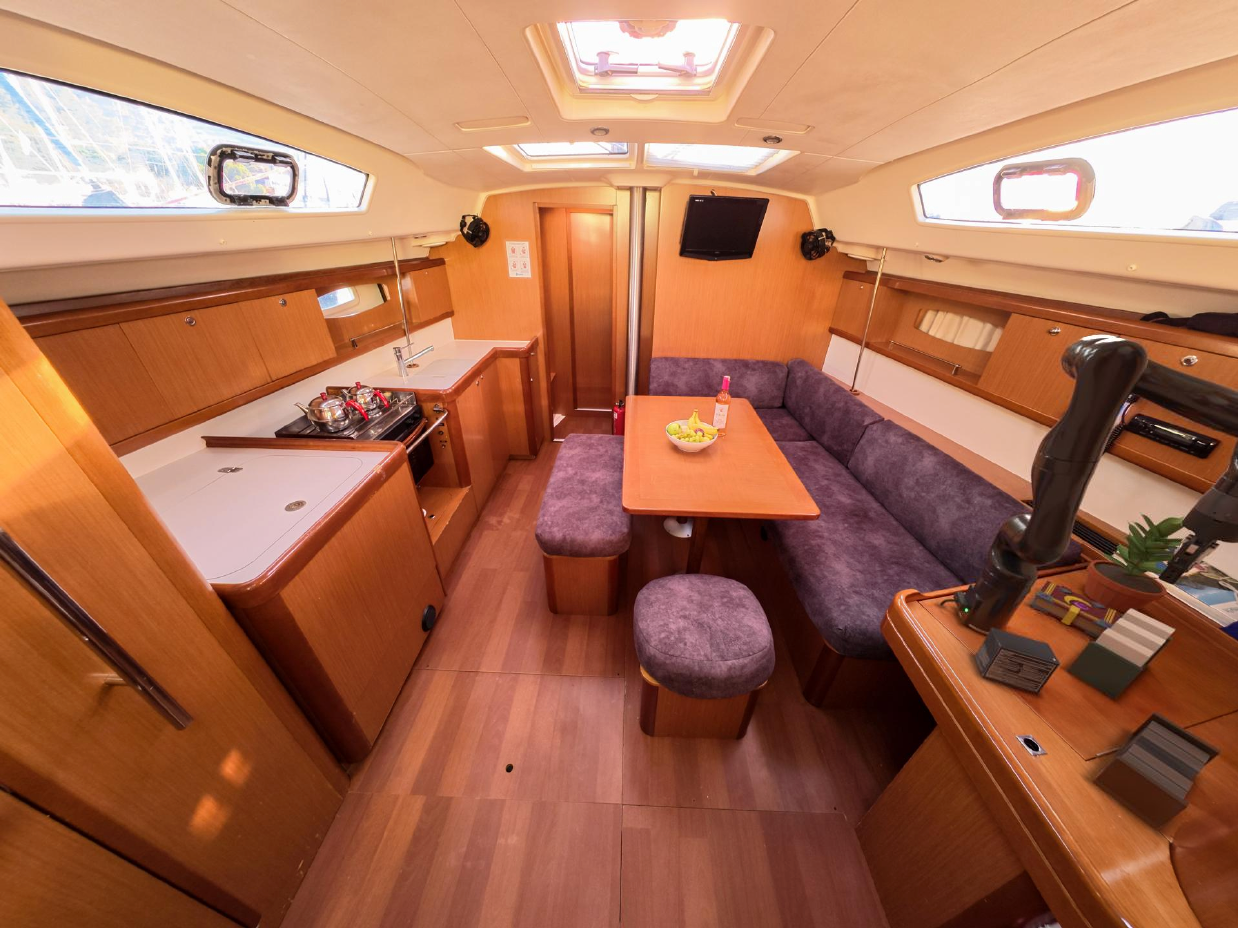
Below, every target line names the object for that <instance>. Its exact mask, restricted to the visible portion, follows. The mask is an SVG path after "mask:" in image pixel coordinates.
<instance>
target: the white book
mask: <svg viewBox="0 0 1238 928" xmlns="http://www.w3.org/2000/svg"><path fill="white" fill-rule="evenodd" d="M1111 630H1113V631H1115V632H1117V633H1119V634H1121V635H1123V636H1125V637H1126V638H1128V639H1130V640H1132V641H1134V642H1136V643H1138V644H1140V645H1142V646H1144V647H1146V648H1148V649H1149V650H1151V651H1153V652H1154V653H1155V652H1156V651H1157V650H1158V649H1159V648H1160V647H1161V646H1162V644H1163V643H1164V642H1165V641H1166V640H1164V639H1162V638H1160V637H1158V636H1156V635H1154V634H1152V633H1150V632H1148V631H1146V630H1144V629H1142V628H1140V627H1138V626H1136V625H1134V624H1132V623H1130V622H1128V621H1126V620H1124V619H1122V618H1120V619H1119V620H1118V621H1117V622H1116V623H1115V624H1114V625H1113V626H1112V627H1111ZM1154 653H1153V654H1154ZM1153 654H1152V655H1153ZM1152 655H1151V656H1152ZM1151 656H1150V657H1151ZM1150 657H1149V658H1150ZM1149 658H1148V659H1147V660H1146V661H1145V663H1146V662H1147V661H1148V660H1149ZM1145 663H1144V664H1145ZM1144 664H1143V665H1144ZM1143 665H1142V666H1143ZM1142 666H1141V667H1142Z"/></svg>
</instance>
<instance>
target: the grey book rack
mask: <svg viewBox="0 0 1238 928" xmlns="http://www.w3.org/2000/svg"><path fill="white" fill-rule="evenodd" d="M1221 753H1222V750H1221V749H1219V748H1217V747H1215V746H1214V745H1212V744H1211V743H1209V742H1207V741H1205V740H1204V739H1202V738H1200V737H1199V736H1197V735H1195V734H1193V733H1192V732H1191V731H1189V730H1187V729H1186V728H1184V727H1182V726H1180V724H1177V723H1176V722H1174V721H1172V720H1170V719H1169V718H1167V717H1165V716H1164V715H1162V714H1161V713H1159V712H1157V711H1154V712H1153V713H1151V715H1150V716H1148V718H1147V719H1146V720H1144V722H1142V723H1141V724H1140V726H1138V727H1137V728H1136V729H1135V730H1133V732H1132V733H1131V734H1130V735H1129V737H1128V738H1127V739H1126V740H1125V741H1124V743H1123V744H1122V745H1121V746H1120V747H1119V749H1118V750H1117V751H1116V752H1115V753H1114V754H1113V756H1112V757H1111V758H1110V760H1108V762H1107V763H1106V764H1105V765H1104V766H1103V768H1102V769H1101V770H1100V772H1098V774H1097V775H1096V776H1095V777H1094V779H1092V783H1093V784H1095V785H1096V786H1098V787H1099V789H1102V790H1103V791H1104V792H1105V793H1107V795H1109V796H1111V797H1112V798H1113V799H1115V800H1116V801H1117V802H1119V803H1120V804H1122V806H1124V807H1125V808H1126V809H1128V810H1129V811H1130V812H1132V813H1133V814H1134V815H1136V816H1137V817H1138V818H1140V820H1142V821H1143V822H1145V823H1147V824H1148V825H1149V826H1150V827H1151V828H1153V829H1154V830H1156V831H1158V830H1160V829H1161V828H1162V827H1164V825H1165V824H1167V823H1168V822H1170V821H1171V820H1172V819H1174V818H1175V817H1177V815H1179V814H1181V813H1182V812H1184V810H1186V809H1187V808H1188V807H1189V805H1190V803H1189V802H1187V801H1186V800H1185V797H1186V796H1187V794H1188V793H1189V791H1190V790H1191V788H1192V786H1193V784H1194V781H1192V780H1193V779H1194V778H1195V777H1197V775H1199V774H1200V773H1201V772H1202V770H1203V769H1204V767H1205V766H1206V765H1207V764H1209V763H1210V762H1212V761H1213V760H1214V759H1215V758H1216V757H1217V756H1219V755H1220V754H1221Z"/></svg>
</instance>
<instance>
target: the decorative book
mask: <svg viewBox="0 0 1238 928" xmlns="http://www.w3.org/2000/svg"><path fill="white" fill-rule="evenodd" d="M1029 606H1030V607H1031V608H1034V609H1037V610H1038V611H1040V612H1042V613H1044V614H1047V615H1050V616H1052V617H1054V618H1056V619H1058V620H1061V621H1060V622H1061V623H1063V624H1064V625H1067V626H1073V627H1074V628H1077V629H1078V630H1081V631H1083V632H1084V633H1085V634H1087V635H1090V636H1091V637H1093V638H1095V639H1096V640H1097V639H1098V638H1099V637H1100V635H1101V634H1102V633H1103V632H1104V631H1105V630H1106V629H1108V628H1109V629H1110V628H1111V627H1112V626H1113V625H1114V623H1115V622H1116V621H1117V620H1118V619H1119V617H1120V616H1121V615H1122V612H1119V611H1116V610H1113V609H1111V608H1108V607H1106V606H1105V604H1103V603H1101V602H1098V601H1096V600H1093V599H1091V598H1088V597H1086V596H1083V595H1081V594H1079V593H1077V592H1074V591H1073V589H1071V588H1068V587H1066V586H1064V585H1059V584H1056V583H1054V582H1052V581H1050V580H1046V582H1045V583H1044V584H1043V586H1042V587H1041V589H1039V590H1038V591H1037V593H1036V594H1035V596H1034V598H1033V599H1032V600H1031V602H1030V603H1029Z"/></svg>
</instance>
